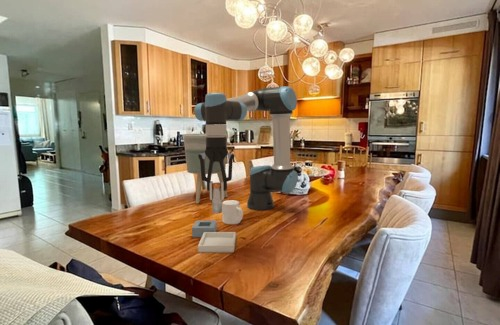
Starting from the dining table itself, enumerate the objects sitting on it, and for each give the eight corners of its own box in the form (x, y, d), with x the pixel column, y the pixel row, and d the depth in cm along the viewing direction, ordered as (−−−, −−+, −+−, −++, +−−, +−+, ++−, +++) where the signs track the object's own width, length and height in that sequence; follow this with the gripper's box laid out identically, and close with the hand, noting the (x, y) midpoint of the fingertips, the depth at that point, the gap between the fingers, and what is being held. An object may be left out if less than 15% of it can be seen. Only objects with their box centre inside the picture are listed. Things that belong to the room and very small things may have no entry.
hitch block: (216, 229, 122) (216, 220, 122) (214, 237, 113) (213, 228, 113) (196, 229, 122) (196, 220, 122) (192, 237, 113) (191, 228, 113)
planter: (236, 196, 177) (236, 133, 172) (209, 207, 155) (207, 135, 150) (205, 191, 191) (204, 133, 186) (176, 200, 169) (173, 134, 164)
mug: (217, 202, 131) (230, 198, 137) (218, 221, 133) (230, 217, 138) (235, 207, 123) (247, 203, 129) (235, 227, 125) (247, 222, 130)
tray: (235, 237, 113) (235, 232, 112) (233, 252, 100) (233, 245, 99) (204, 237, 113) (204, 232, 112) (198, 252, 100) (197, 245, 100)
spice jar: (222, 210, 106) (222, 182, 105) (221, 213, 103) (221, 184, 101) (213, 210, 106) (212, 182, 105) (211, 213, 103) (211, 184, 101)
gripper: (239, 136, 104) (239, 196, 107) (195, 136, 104) (197, 196, 108) (238, 137, 97) (238, 201, 100) (191, 136, 97) (193, 201, 100)
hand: (217, 198), depth 104 cm, fingers closed on spice jar, 4 cm apart
